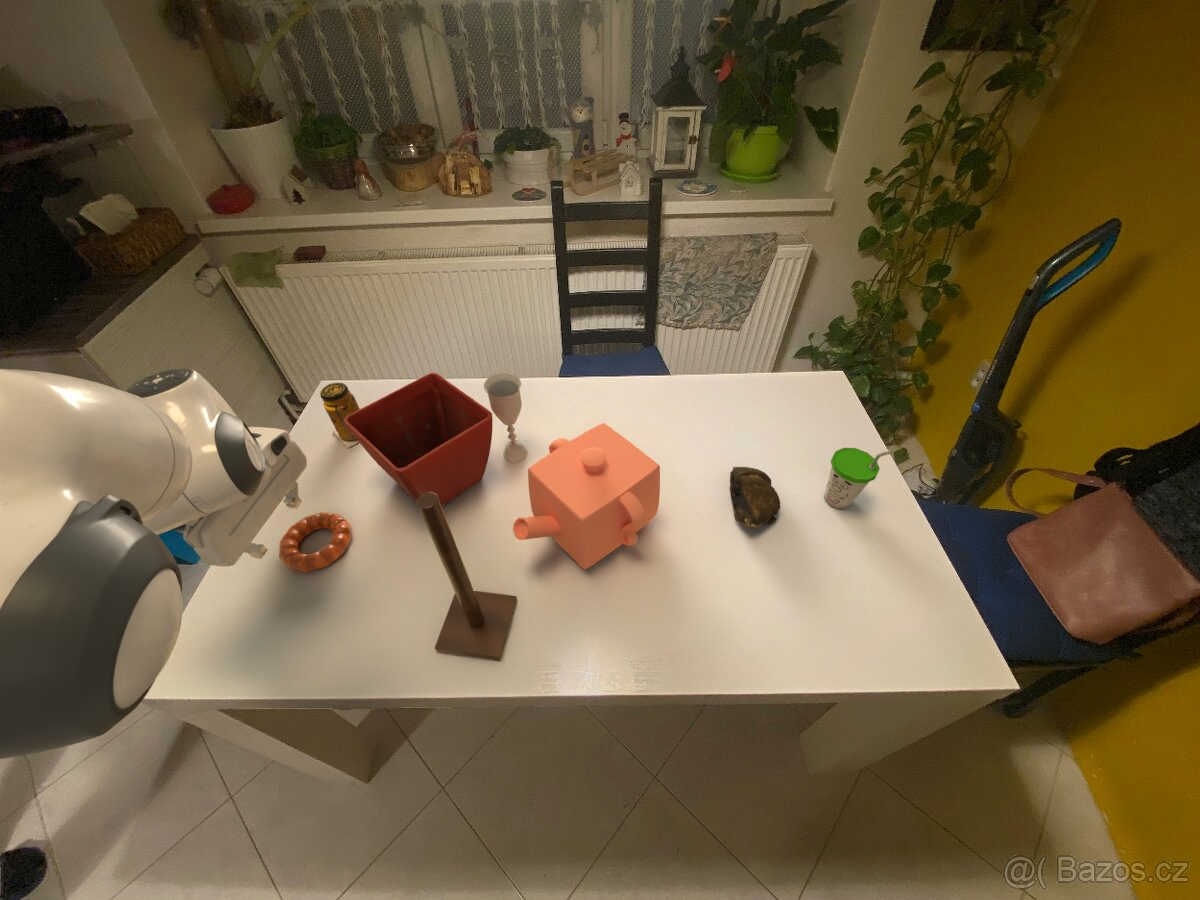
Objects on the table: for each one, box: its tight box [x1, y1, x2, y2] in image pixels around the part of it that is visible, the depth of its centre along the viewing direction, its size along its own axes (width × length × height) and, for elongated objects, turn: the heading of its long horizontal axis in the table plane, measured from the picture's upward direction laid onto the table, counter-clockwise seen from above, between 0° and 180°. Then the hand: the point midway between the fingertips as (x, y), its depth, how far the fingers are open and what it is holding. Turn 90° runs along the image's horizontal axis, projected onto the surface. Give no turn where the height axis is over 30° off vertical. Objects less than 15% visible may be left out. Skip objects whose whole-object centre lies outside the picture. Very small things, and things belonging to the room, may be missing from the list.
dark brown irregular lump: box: [729, 466, 781, 529], centre depth 94 cm, size 16×9×7 cm, turn 178°
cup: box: [823, 447, 893, 510], centre depth 91 cm, size 8×8×15 cm
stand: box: [415, 492, 518, 662], centre depth 69 cm, size 10×10×32 cm
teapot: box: [512, 422, 661, 570], centre depth 85 cm, size 25×23×18 cm
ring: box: [278, 511, 352, 572], centre depth 90 cm, size 12×12×3 cm
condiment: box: [319, 382, 361, 449], centre depth 107 cm, size 7×8×12 cm
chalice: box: [483, 372, 528, 463], centre depth 100 cm, size 7×7×18 cm
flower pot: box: [344, 372, 493, 507], centre depth 95 cm, size 19×19×17 cm
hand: (278, 528), depth 80 cm, fingers open, 8 cm apart
